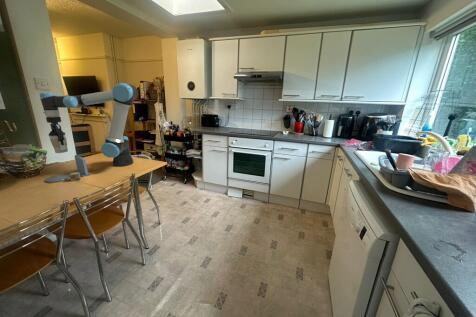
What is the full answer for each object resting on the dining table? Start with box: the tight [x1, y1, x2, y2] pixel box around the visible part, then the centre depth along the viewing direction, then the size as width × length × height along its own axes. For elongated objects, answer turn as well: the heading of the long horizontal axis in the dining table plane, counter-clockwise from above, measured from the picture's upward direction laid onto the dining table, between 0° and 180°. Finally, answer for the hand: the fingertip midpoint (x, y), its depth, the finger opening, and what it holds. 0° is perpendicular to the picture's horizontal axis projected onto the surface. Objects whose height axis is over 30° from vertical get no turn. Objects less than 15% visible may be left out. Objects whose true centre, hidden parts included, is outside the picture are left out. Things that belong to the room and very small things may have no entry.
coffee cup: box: [48, 130, 69, 154], centre depth 140 cm, size 9×9×15 cm
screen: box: [73, 154, 92, 178], centre depth 141 cm, size 16×5×12 cm, turn 54°
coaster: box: [45, 174, 70, 184], centre depth 132 cm, size 12×12×1 cm
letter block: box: [69, 171, 82, 182], centre depth 132 cm, size 4×4×5 cm
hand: (61, 148), depth 142 cm, fingers closed on coffee cup, 9 cm apart
